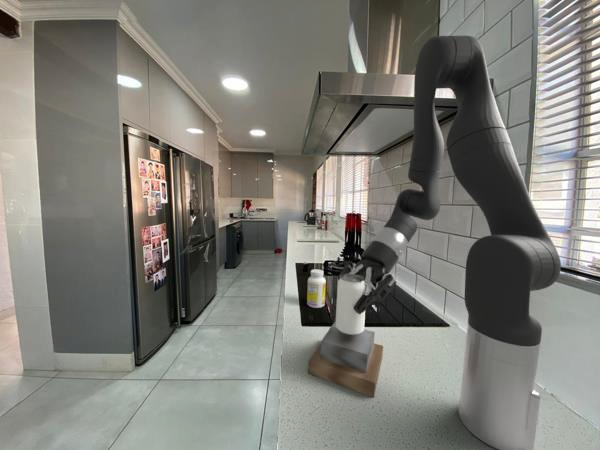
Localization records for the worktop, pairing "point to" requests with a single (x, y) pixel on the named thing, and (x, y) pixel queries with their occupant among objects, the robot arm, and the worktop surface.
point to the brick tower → (348, 360)
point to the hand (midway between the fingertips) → (345, 305)
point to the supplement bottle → (316, 289)
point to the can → (349, 304)
